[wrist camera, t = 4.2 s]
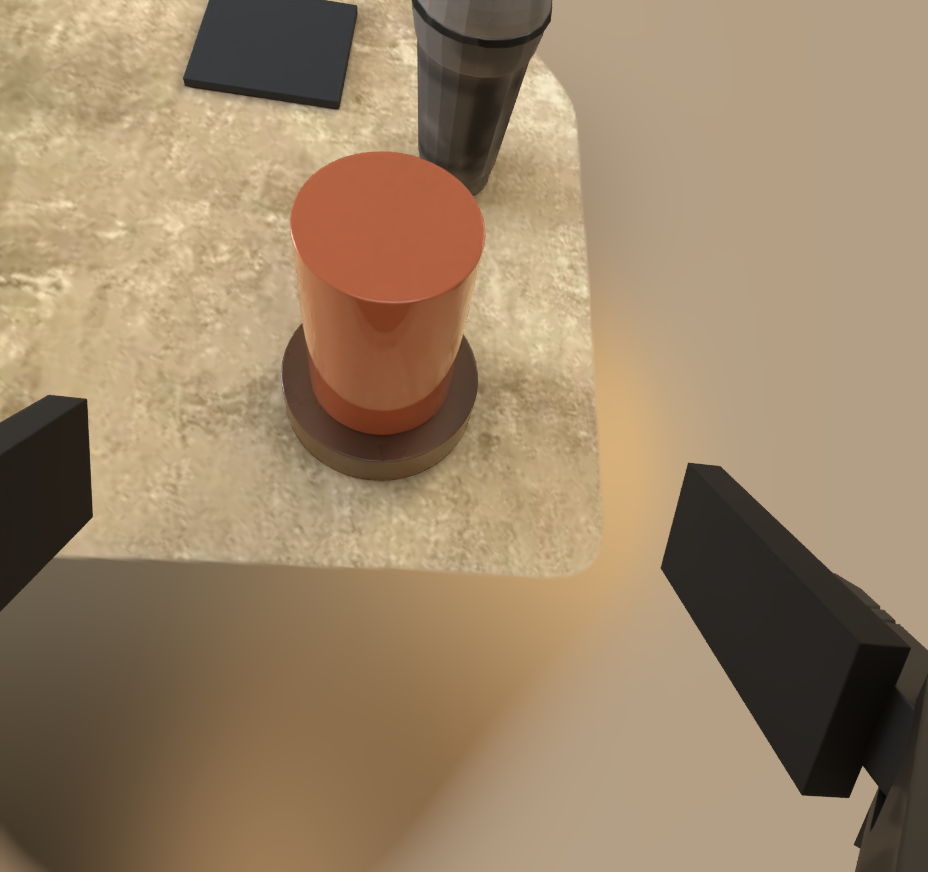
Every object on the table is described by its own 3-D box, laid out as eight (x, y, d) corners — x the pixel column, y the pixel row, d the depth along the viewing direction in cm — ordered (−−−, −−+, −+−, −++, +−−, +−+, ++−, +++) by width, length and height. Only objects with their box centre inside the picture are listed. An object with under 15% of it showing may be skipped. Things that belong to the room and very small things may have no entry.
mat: (357, 13, 51) (357, 5, 50) (339, 109, 46) (338, 101, 46) (216, -11, 50) (215, -19, 49) (184, 86, 45) (182, 77, 45)
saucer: (475, 329, 41) (482, 303, 38) (466, 490, 36) (473, 472, 34) (301, 307, 40) (297, 280, 37) (270, 470, 35) (264, 450, 33)
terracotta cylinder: (455, 321, 38) (489, 165, 28) (446, 443, 34) (481, 315, 25) (320, 305, 37) (306, 138, 27) (299, 427, 34) (273, 289, 24)
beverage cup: (506, 135, 48) (594, -246, 30) (513, 218, 44) (616, -150, 26) (398, 126, 47) (422, -273, 29) (398, 210, 43) (424, -177, 25)
